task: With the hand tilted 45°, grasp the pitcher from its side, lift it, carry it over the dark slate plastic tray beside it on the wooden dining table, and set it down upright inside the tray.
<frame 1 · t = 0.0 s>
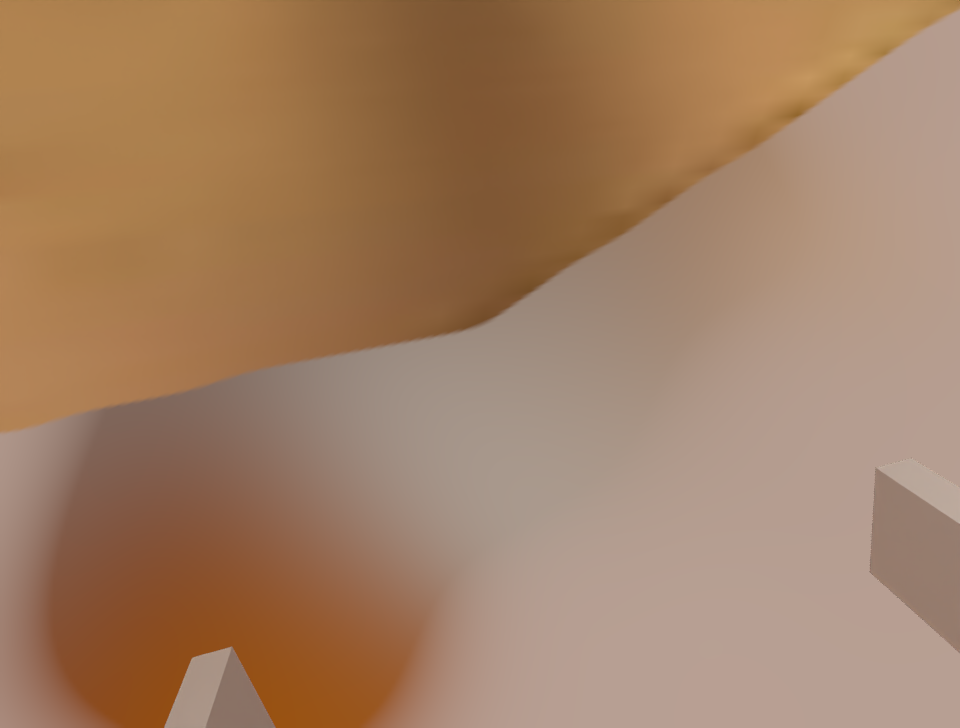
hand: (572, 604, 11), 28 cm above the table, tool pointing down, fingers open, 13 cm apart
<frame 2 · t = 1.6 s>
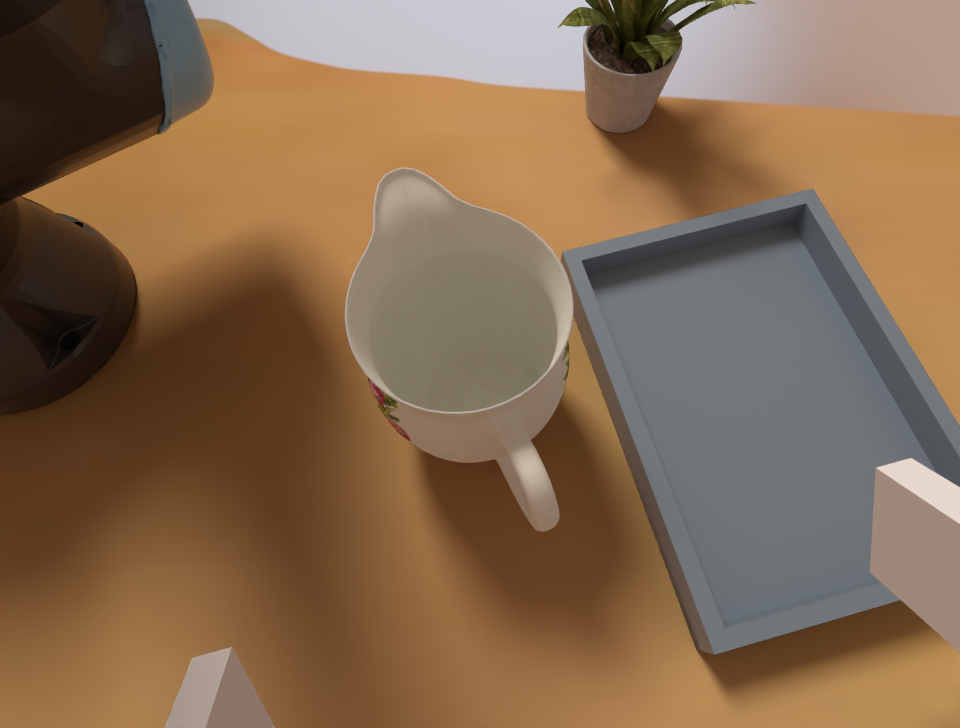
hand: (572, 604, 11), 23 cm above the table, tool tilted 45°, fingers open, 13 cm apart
pitcher: (481, 413, 37), on the table
house plant: (629, 120, 46), on the table
tray: (751, 401, 37), on the table
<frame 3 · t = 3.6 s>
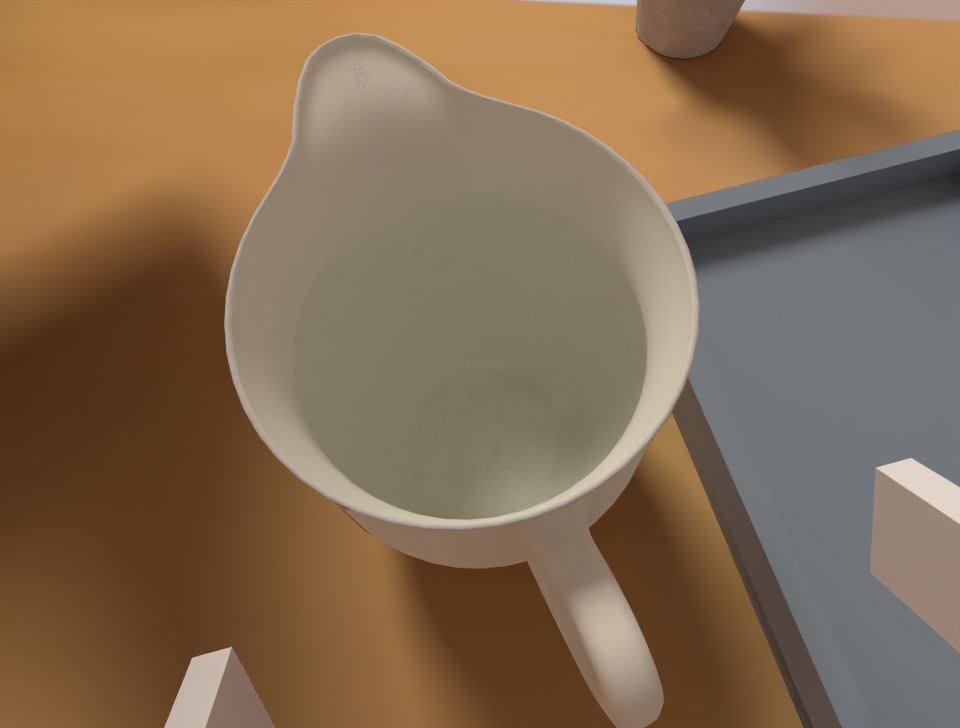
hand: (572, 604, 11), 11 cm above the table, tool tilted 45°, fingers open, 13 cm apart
pitcher: (495, 463, 24), on the table
house plant: (696, 42, 33), on the table
tray: (917, 446, 23), on the table
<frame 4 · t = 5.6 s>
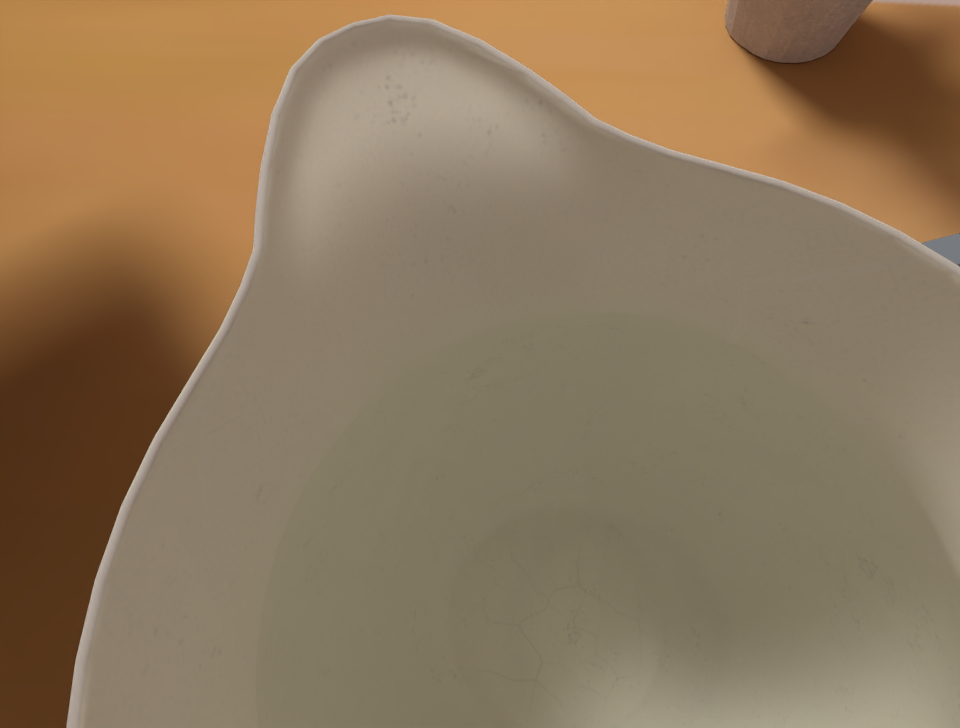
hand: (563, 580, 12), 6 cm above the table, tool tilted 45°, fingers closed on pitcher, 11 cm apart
pitcher: (570, 649, 17), on the table, touching gripper
house plant: (805, 41, 26), on the table
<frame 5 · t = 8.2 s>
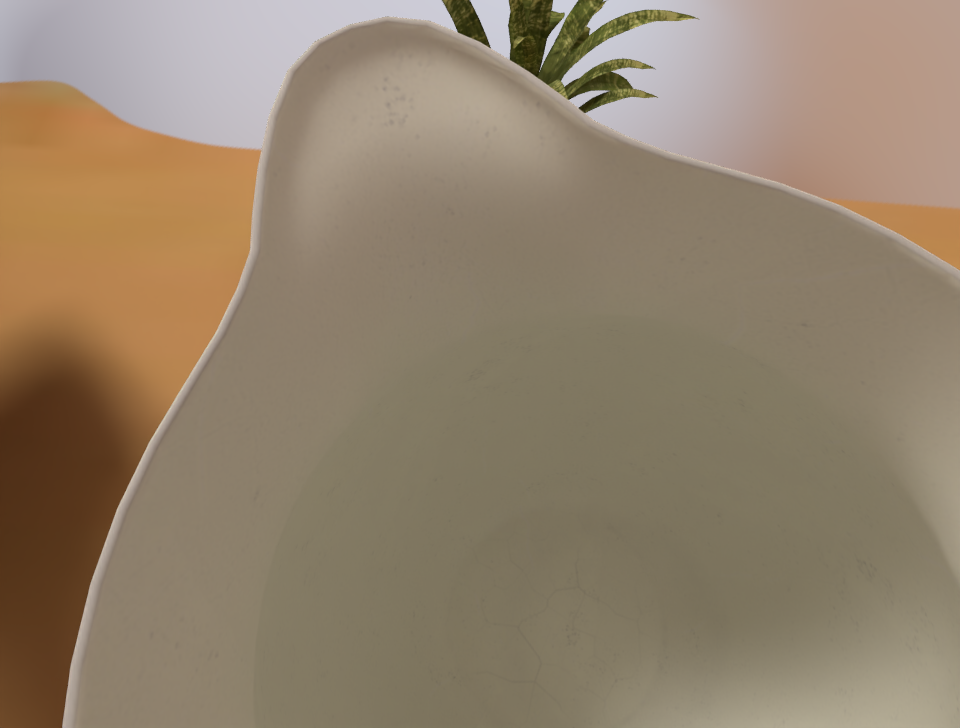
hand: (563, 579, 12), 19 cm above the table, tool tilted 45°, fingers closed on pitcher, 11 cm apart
pitcher: (569, 650, 17), point 13 cm above the table, touching gripper
house plant: (532, 209, 39), on the table
when the fingers open (8 cm above the table, at t = 11.1 s): pitcher drops 2 cm, resting on tray.
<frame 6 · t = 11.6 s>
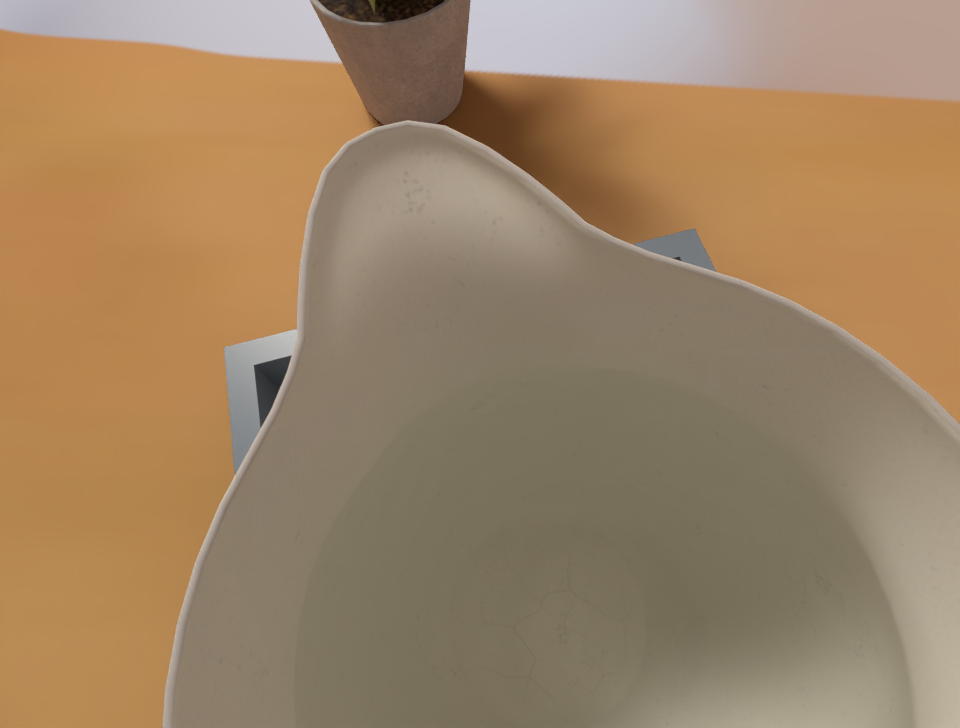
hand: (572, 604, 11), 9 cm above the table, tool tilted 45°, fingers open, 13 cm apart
pitcher: (561, 648, 18), point 1 cm above the table, touching tray
house plant: (429, 109, 29), on the table
tray: (560, 645, 19), on the table
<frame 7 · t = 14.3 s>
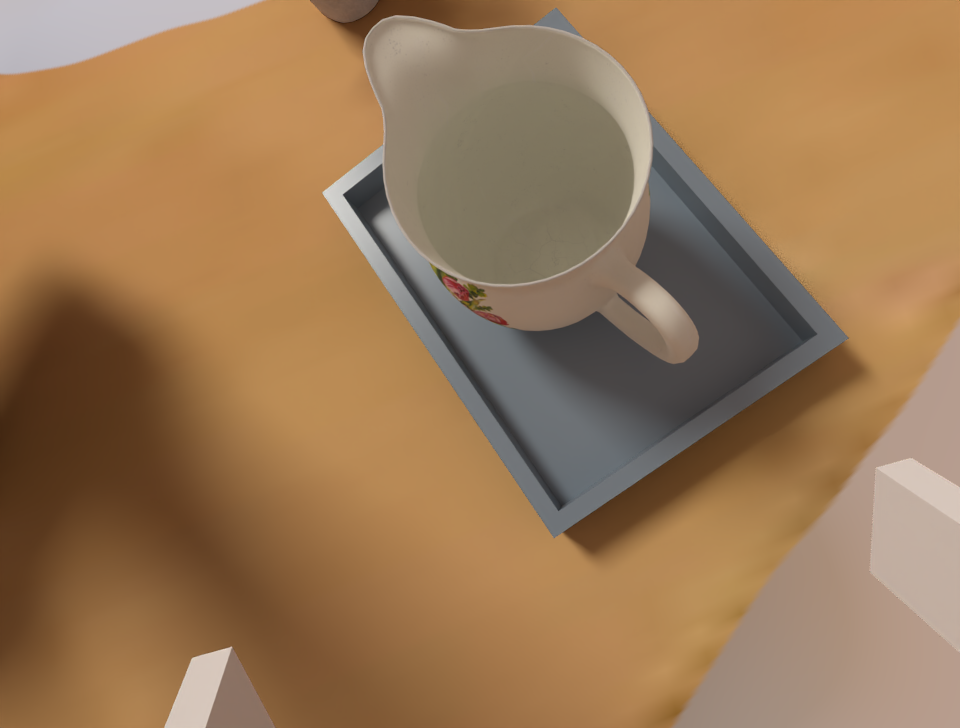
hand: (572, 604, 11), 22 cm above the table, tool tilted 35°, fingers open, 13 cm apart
pitcher: (558, 269, 34), point 1 cm above the table, touching tray
tray: (559, 272, 35), on the table
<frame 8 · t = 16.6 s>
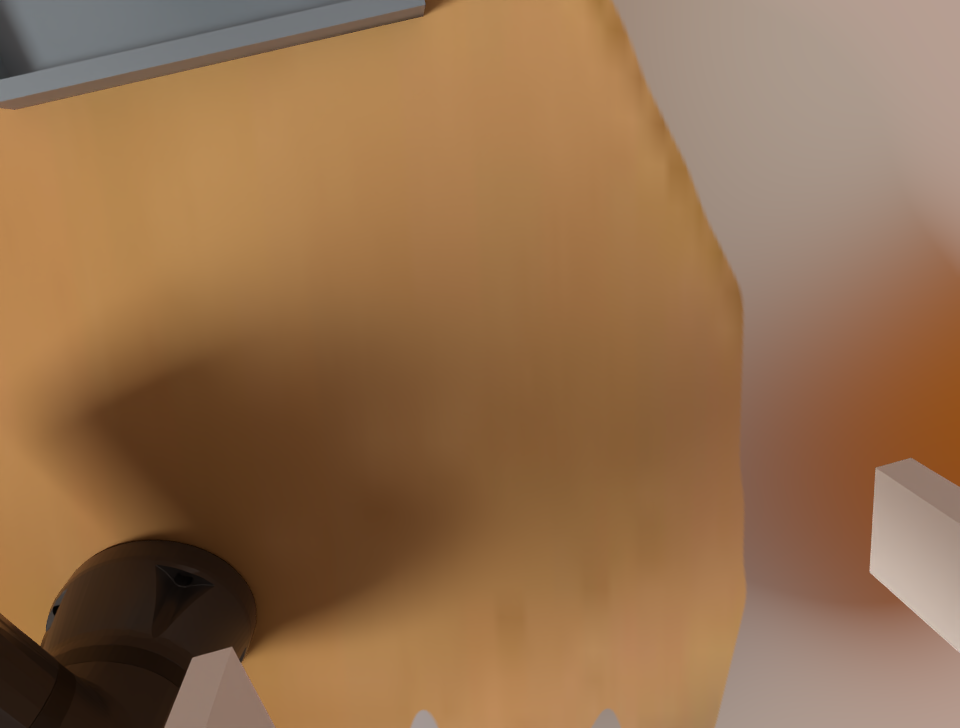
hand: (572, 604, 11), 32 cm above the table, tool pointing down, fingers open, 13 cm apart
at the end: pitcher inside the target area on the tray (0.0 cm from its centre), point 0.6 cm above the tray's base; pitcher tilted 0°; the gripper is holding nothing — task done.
